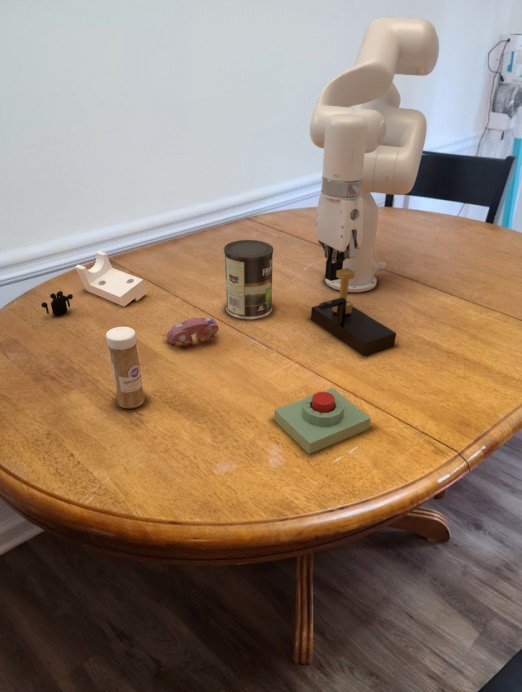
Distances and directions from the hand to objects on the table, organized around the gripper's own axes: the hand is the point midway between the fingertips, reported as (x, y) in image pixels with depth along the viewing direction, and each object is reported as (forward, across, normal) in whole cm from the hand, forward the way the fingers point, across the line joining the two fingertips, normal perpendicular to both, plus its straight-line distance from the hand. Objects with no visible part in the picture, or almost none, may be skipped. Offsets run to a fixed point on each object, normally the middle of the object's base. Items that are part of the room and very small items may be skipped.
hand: (333, 278), depth 117 cm
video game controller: (+10, +6, +30) cm, 32 cm away
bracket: (+10, +35, +36) cm, 51 cm away
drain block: (+10, -29, +23) cm, 39 cm away
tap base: (+10, -7, +2) cm, 12 cm away
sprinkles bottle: (+10, -7, +48) cm, 49 cm away
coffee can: (+10, +13, +13) cm, 21 cm away
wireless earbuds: (+10, +31, +49) cm, 59 cm away
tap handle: (+6, -3, 0) cm, 7 cm away
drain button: (+6, -29, +23) cm, 38 cm away
